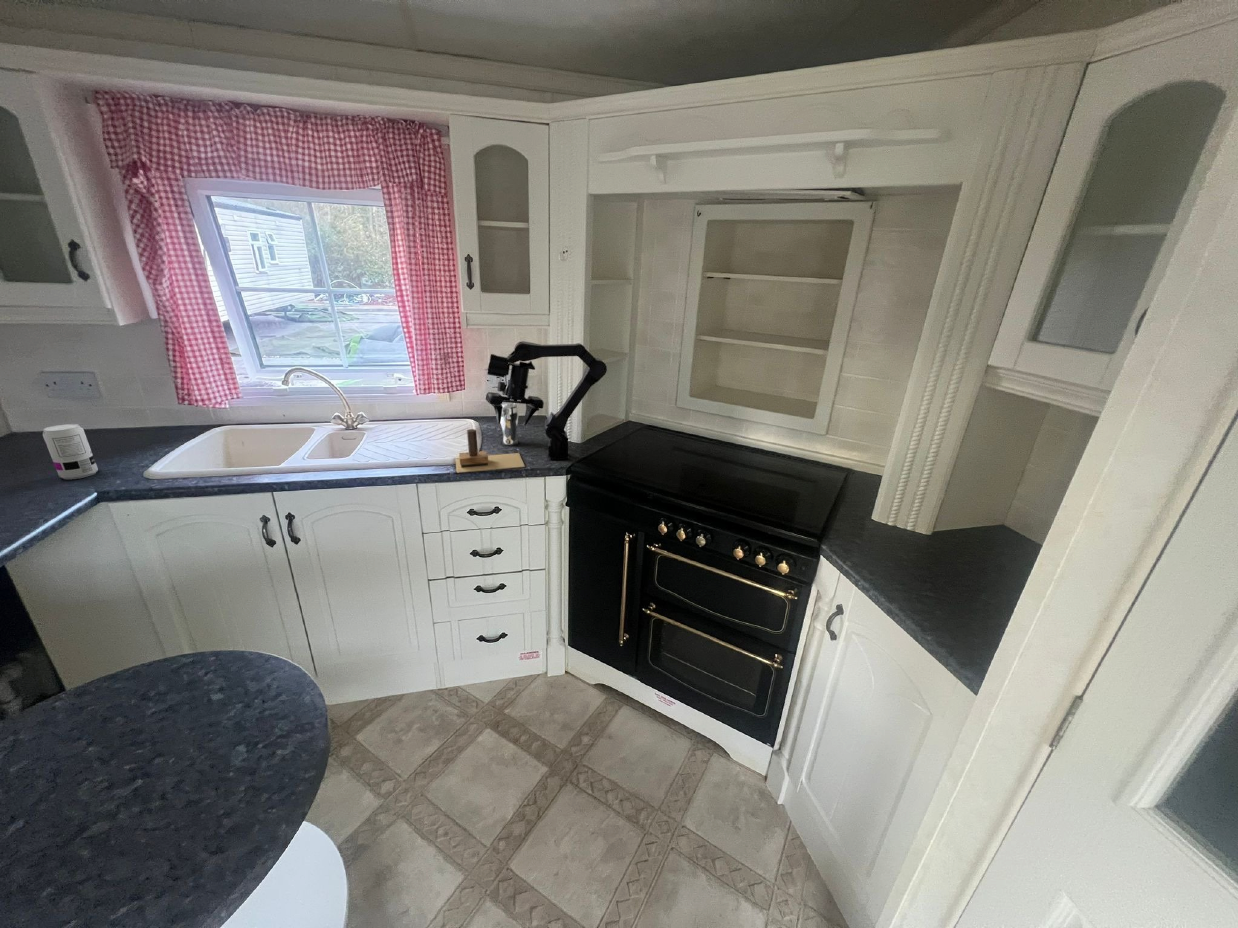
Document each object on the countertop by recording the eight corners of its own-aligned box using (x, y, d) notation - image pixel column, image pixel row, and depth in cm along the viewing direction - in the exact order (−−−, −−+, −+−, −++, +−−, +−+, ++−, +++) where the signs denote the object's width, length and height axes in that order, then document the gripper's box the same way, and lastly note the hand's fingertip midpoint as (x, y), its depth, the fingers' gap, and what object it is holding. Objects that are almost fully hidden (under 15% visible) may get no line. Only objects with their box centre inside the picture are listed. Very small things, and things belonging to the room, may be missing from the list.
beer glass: (521, 441, 193) (520, 403, 187) (516, 446, 186) (514, 408, 181) (504, 439, 193) (502, 402, 188) (498, 445, 187) (496, 406, 181)
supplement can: (51, 480, 144) (31, 431, 139) (75, 470, 152) (57, 423, 146) (83, 479, 145) (65, 431, 140) (106, 469, 153) (89, 423, 148)
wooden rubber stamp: (486, 459, 171) (484, 427, 167) (488, 465, 166) (486, 432, 162) (459, 461, 169) (456, 428, 164) (460, 467, 163) (457, 434, 159)
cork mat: (518, 453, 179) (518, 452, 179) (524, 467, 167) (524, 466, 167) (455, 458, 172) (455, 457, 172) (456, 473, 160) (456, 472, 160)
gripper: (535, 377, 176) (528, 419, 181) (484, 371, 166) (478, 415, 171) (547, 385, 167) (540, 428, 172) (493, 379, 157) (487, 425, 162)
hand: (511, 424), depth 169 cm, fingers open, 9 cm apart
